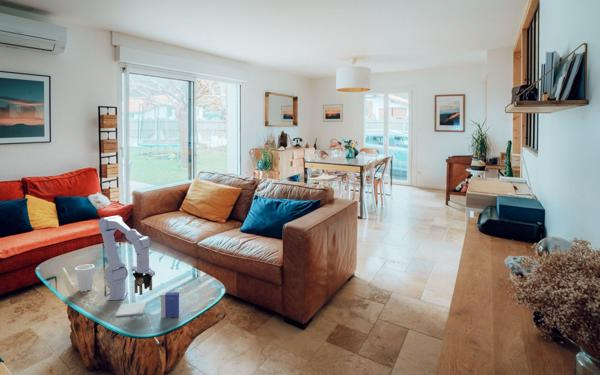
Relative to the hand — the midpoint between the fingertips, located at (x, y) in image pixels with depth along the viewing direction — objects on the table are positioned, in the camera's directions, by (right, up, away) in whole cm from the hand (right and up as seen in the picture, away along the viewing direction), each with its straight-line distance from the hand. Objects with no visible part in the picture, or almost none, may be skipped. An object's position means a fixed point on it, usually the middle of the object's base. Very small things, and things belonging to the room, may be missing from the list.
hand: (143, 286), depth 176 cm
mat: (-4, -11, -3) cm, 12 cm away
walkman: (+17, -12, -8) cm, 23 cm away
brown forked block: (0, -3, 0) cm, 3 cm away
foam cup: (-41, -7, +18) cm, 45 cm away
